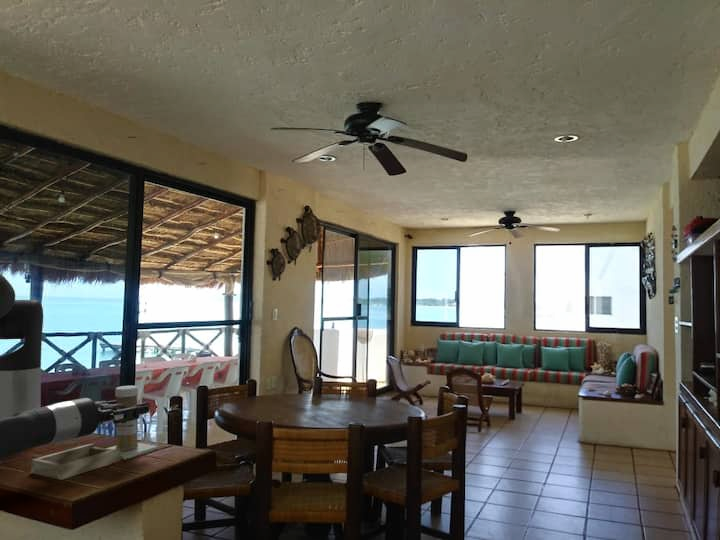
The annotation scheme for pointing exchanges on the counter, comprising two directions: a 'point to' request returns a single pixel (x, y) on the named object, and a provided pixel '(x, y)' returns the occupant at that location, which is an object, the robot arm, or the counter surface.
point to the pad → (136, 450)
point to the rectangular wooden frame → (74, 461)
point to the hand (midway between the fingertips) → (134, 405)
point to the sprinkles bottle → (128, 429)
